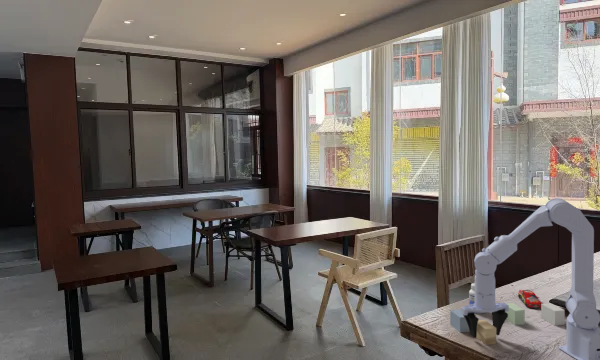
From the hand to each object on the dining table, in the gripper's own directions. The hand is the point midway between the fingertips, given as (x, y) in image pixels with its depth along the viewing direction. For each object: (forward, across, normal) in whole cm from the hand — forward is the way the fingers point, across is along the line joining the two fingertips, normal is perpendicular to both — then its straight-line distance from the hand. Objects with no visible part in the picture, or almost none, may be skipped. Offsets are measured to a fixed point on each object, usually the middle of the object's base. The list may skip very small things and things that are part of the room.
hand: (484, 335), depth 121 cm
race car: (+2, -33, -23) cm, 40 cm away
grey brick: (+2, -29, -7) cm, 30 cm away
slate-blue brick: (+2, +3, -9) cm, 10 cm away
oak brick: (+2, 0, 0) cm, 2 cm away
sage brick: (+2, -17, -10) cm, 20 cm away
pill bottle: (+2, -10, -20) cm, 22 cm away
